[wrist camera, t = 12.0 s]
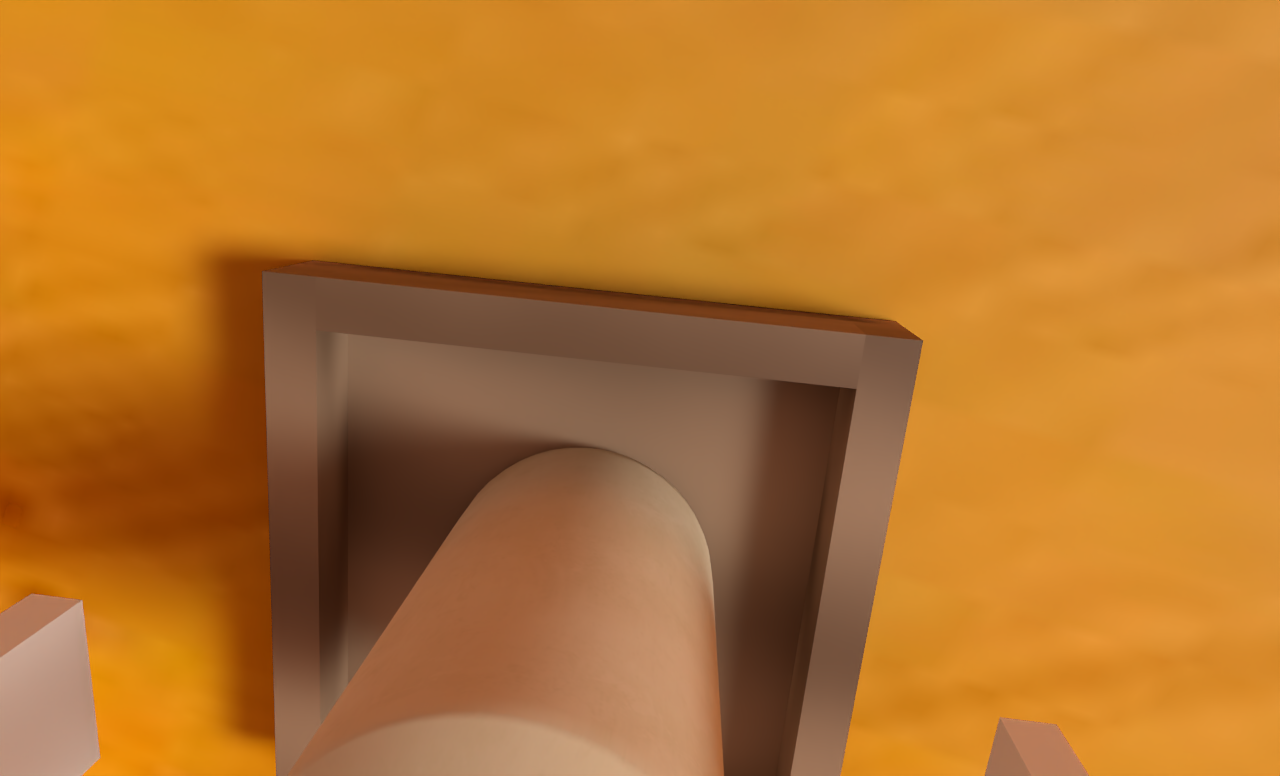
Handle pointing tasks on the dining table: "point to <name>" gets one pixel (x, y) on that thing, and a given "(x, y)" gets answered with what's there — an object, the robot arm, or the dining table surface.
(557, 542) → the candle
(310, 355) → the tray
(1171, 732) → the dining table surface
